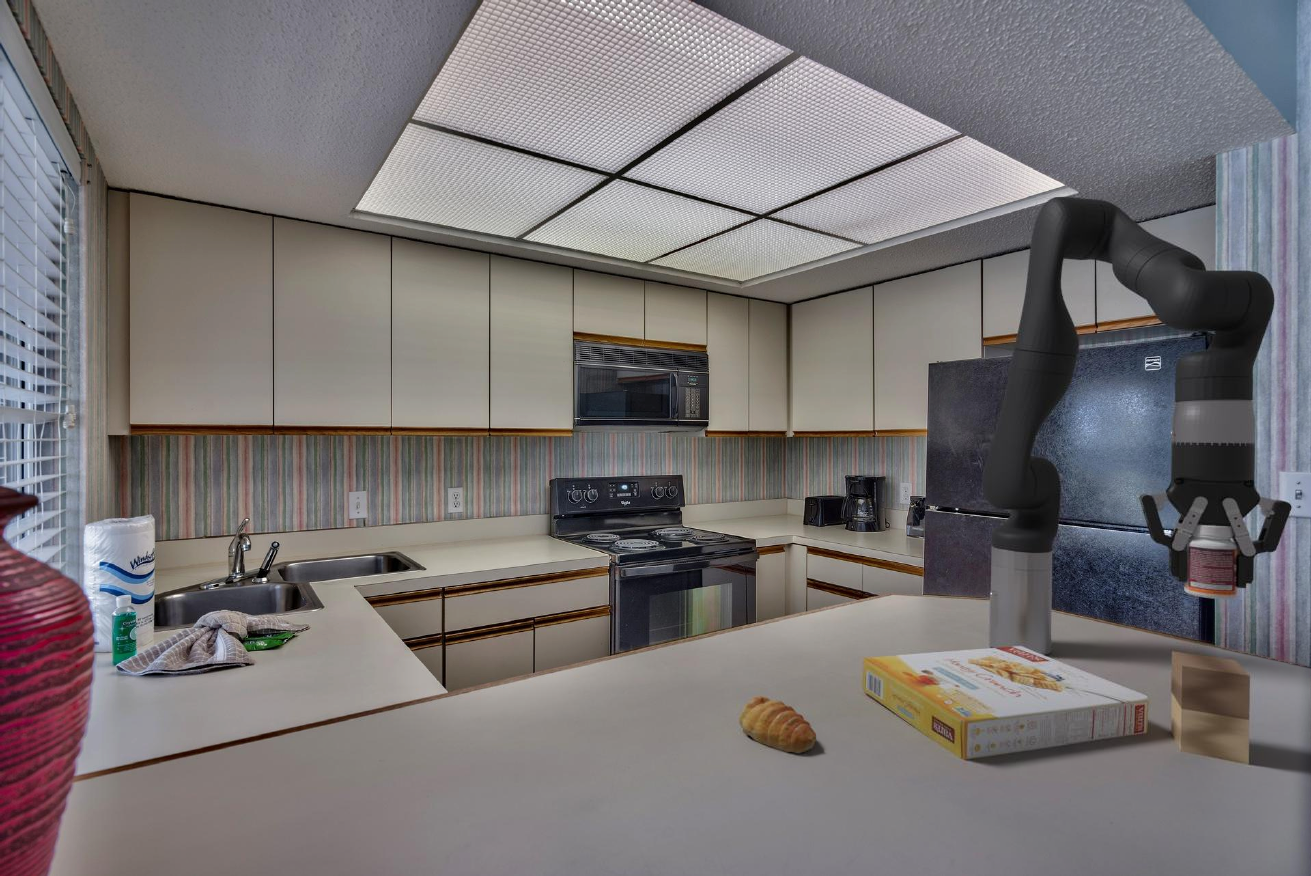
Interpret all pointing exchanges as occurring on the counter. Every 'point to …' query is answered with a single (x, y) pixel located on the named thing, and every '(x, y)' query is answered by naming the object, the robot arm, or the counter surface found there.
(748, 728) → the pastry
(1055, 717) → the cereal box
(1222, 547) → the pill bottle
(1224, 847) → the counter surface
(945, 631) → the counter surface
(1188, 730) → the maple block
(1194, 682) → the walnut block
